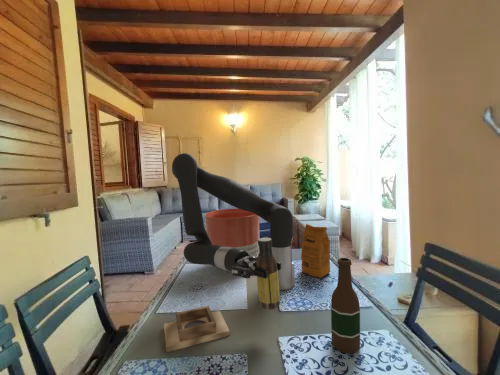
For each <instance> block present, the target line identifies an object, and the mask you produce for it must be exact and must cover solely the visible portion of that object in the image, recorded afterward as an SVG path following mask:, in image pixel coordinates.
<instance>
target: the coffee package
mask: <svg viewBox="0 0 500 375" xmlns="http://www.w3.org/2000/svg"><path fill="white" fill-rule="evenodd" d="M327 230H328V228H327V227H326V226H314V225H311V224H308V223H306V224H305V228H304V231H303V236H302V241H301V256H300V257H301V258H300V259H301V273H304V274H308V275H309V276H310V277H314V278H318V279H319V278H323V277H325V276H326V275H328V274H330V272H331V263H330V262H331V261H330V260H331V241H330V239H329V236H328V233H327Z"/></svg>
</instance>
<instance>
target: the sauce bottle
mask: <svg viewBox="0 0 500 375" xmlns="http://www.w3.org/2000/svg"><path fill="white" fill-rule="evenodd" d="M258 245H259V251H258V254H259V257H258V256H257V257H258V259H257V262H256V266H257V268H260V269H264V270H267V271H268V278H266V279H265V278H261V277H258V276H256V281H257V294H258V301H259V302H258V303H259V306H260V307H261V309H263V310H270V311H271V310H275V309H276V308H278V307H279V306H280V301H281V300H280V298H281V297H280V296H281V295H280V290H279V280H278V269H277V261H276V259H275V257H274V256H273V255H272V239H271V238H270V237H261V238H260V237H259V239H258Z"/></svg>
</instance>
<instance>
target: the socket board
mask: <svg viewBox="0 0 500 375" xmlns="http://www.w3.org/2000/svg"><path fill="white" fill-rule="evenodd" d="M163 329H164V330H163V331H164V332H163V333H164V339H165V340H164V341H165V351H166V353H167V354H168V353H170V352H174V351H177V350H178V351H179V350H180V349H185V348H188V347H192V346H195V345H200V344H204V343H207V342H211V341H215V340H218V339H222V338H225V337H229V336H230V335H231V331H230V329H229V327H228V325H227V322H226V321H225V319H224V316H223V315H222V313H221V310H217V311H213V312H212V311H211V308H210V306H209V305H206V306H202V307H197V308H192V309H188V310H185V311H184V310H183V311H180V312H176V313H175V320H174V321H171V322H165V323H163Z"/></svg>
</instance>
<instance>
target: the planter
mask: <svg viewBox="0 0 500 375" xmlns="http://www.w3.org/2000/svg"><path fill="white" fill-rule="evenodd" d="M204 221H205V222H204V223H205V224H204V225H205V230H206V232H207V234H208V236H209V239H210V241H211V243H212V245H219V246H224V247H232V248H237V249H241V250H245V251H246V252H247V253H248V255H249V256H255V257H258V254H259V245H258V239H260V217H259V216H257V215H256V214H254V213H251V212H248V211H245V210H242V209H239V208H226V209H225V208H224V209H217V210H212V211H209V212H207V213H205V214H204Z"/></svg>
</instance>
